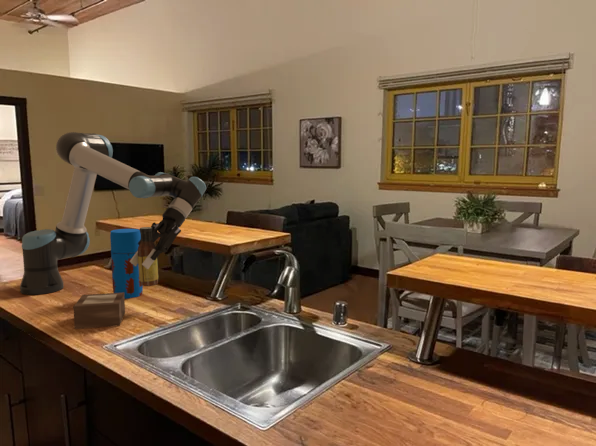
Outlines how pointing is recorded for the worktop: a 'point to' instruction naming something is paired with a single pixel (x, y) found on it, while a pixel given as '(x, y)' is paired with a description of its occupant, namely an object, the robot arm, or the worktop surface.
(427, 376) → the worktop surface
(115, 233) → the thermos
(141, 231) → the sauce bottle
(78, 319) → the block
